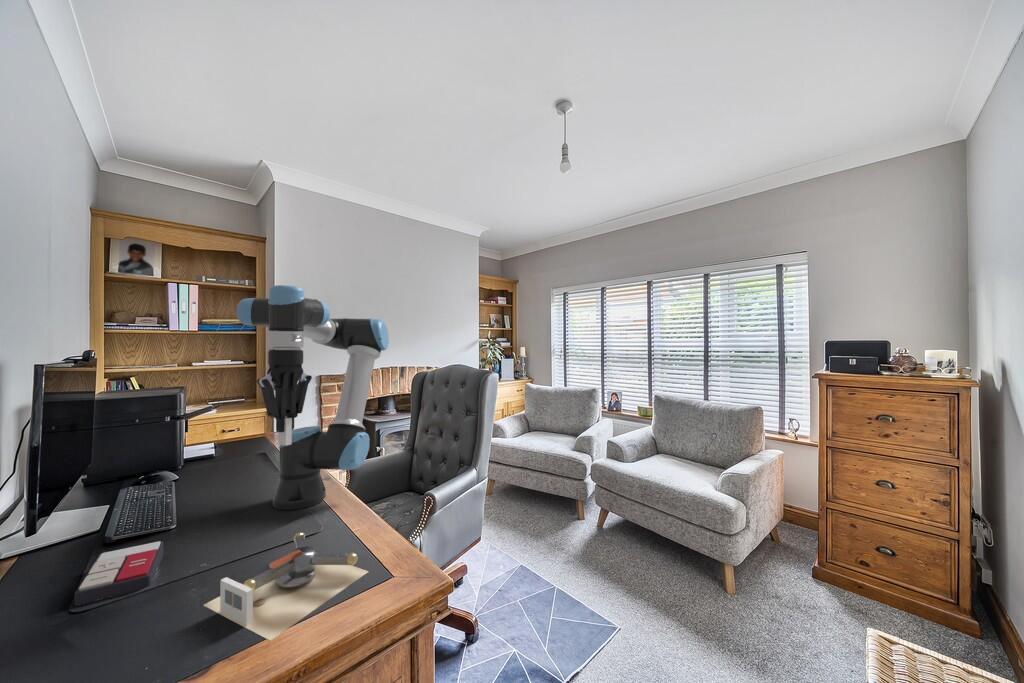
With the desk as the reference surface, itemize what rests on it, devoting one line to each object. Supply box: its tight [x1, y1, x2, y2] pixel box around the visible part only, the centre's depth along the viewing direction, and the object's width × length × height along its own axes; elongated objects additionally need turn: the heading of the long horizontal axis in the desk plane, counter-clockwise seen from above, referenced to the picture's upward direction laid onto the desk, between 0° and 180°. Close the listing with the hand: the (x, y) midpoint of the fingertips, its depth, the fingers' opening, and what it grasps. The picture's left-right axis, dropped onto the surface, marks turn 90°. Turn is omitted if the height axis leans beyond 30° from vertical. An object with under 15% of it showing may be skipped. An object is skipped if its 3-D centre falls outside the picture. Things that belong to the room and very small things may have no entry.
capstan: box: [242, 531, 359, 591], centre depth 85 cm, size 18×21×6 cm
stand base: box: [203, 565, 370, 642], centre depth 80 cm, size 22×20×2 cm
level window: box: [219, 576, 253, 626], centre depth 71 cm, size 1×8×6 cm, turn 65°
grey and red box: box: [74, 540, 164, 606], centre depth 85 cm, size 11×4×15 cm
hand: (285, 444), depth 96 cm, fingers closed
